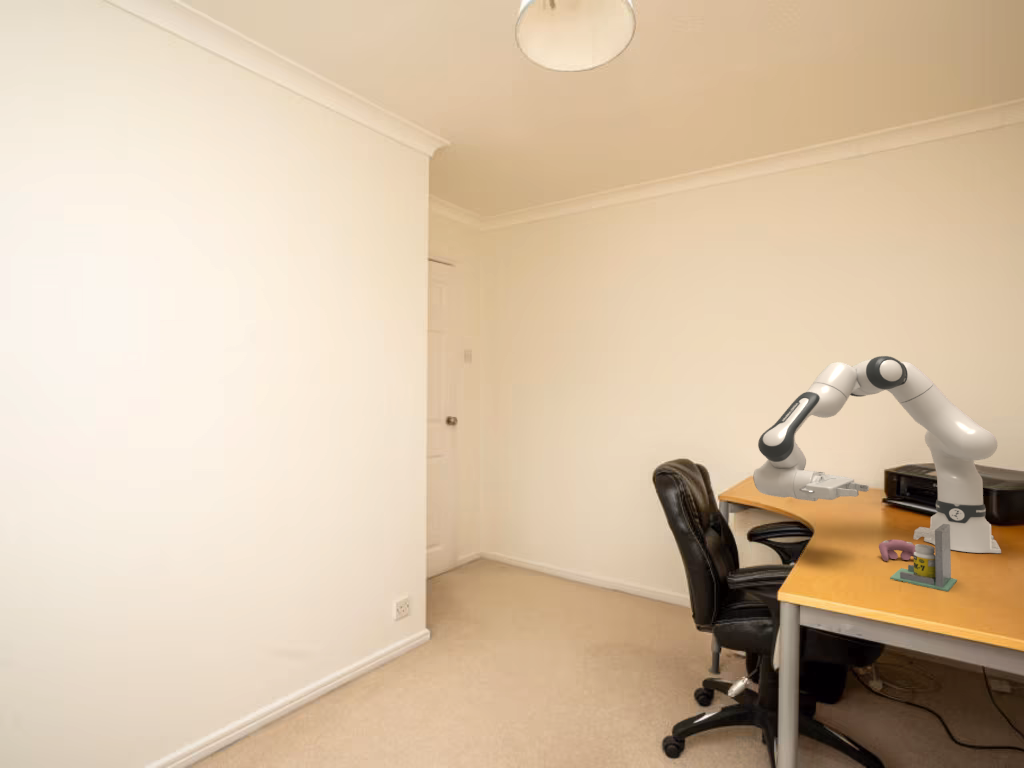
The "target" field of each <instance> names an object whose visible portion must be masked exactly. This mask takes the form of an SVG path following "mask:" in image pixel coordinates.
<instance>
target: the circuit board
mask: <svg viewBox="0 0 1024 768" xmlns="http://www.w3.org/2000/svg"><path fill="white" fill-rule="evenodd" d="M900 572H906V573H911V574H914V572H909V571H908V568H902V567H901V568H899V569H898V570H897V571H896V572H894V573H893V574H892V575H891V576H890V577H889V579H890V580H891V579H894V580H893V581H896V580H898V582H901V581H903V582H902V583H905V582H908V583H907V584H910V583H911V585H916V586H919V585H920V587H925V588H930V589H934V590H938V591H942V592H950V590H951V589H952V588H953V587H954V585H955V584H956V583H957V581H958V579H957V578H952V577H951V579H950V580H949V582H948V583H947V584H946V585H945V586H944V587H943V588H941V587H936V581H935V585H929V584H924V583H919V582H915V581H910V580H905V579H900Z"/></svg>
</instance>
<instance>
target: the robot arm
mask: <svg viewBox="0 0 1024 768" xmlns="http://www.w3.org/2000/svg"><path fill="white" fill-rule="evenodd" d="M883 391H887V392H888V393H890V394H891V395H892V396H893V397H894V399H895V400H896V401H897V402H898V403H899V405H901V407H902V408H903V409H904V411H906V412H907V414H908V415H909V416H910V417H911V418H912V419H913V420H914V421H915V422H916V423H917V424H919V425H920V426H922V427H923V428H924V429H926V432H925V435H924V442H925V444H926V446H927V447H928V448H929V451H930V454H931V458H932V461H933V464H934V468H935V473H936V479H937V480H936V481H937V483H936V485H937V499H936V501H935V507H936V508H935V509H936V513H935V514H933V515H932V516H930V526H929V528H932V529H937V528H938V527H940V526H941V525H942V524H949V525H950V550H952V551H958V552H963V553H966V552H967V553H973V554H975V553H977V554H982V553H983V554H987V553H989V554H1002V549H1001V548H1000V546H999V543H998V542H997V540H995V536H994V535H992V524H991V523H990V522H989V521H987V519H986V511H987V510H986V509H987V508H986V504H984V496H983V495H984V489H983V488H984V487H983V486H984V483H983V482H984V480H983V478H982V476H981V475H980V473H979V472H978V469H977V467H976V465H975V461H981V460H986V459H989V458H991V457H993V455H994V454H995V453H996V452H997V449H998V441H997V438H996V436H995V435H994V434H993V433H992V432H991V431H989V430H987V429H986V428H984V427H982V426H981V425H980V424H978V423H977V422H976V421H975V420H974V419H972V418H971V417H970V416H969V415H967V414H966V412H964V411H963V410H961V409H960V408H959V407H958V406H956V405H955V404H954V403H953V402H951V400H950V399H949V398H948V397H947V396H946V395H945V394H944V393H943V392H942V390H941V389H940V388H938V386H937V385H936V384H935V383H934V382H933V381H932V379H930V377H929V376H927V375H926V374H925V373H924V371H922V370H921V369H919V368H918V367H917V366H915V364H913V363H911V362H909V361H900V360H898V359H897V358H895V357H892V356H888V355H881V356H876V357H873V358H870V359H869V358H868V359H866V360H863V361H859V363H857V364H855V365H851V364H848V363H847V362H846V363H845V362H843V361H842V362H841V361H836V362H832V363H829V364H828V365H827V366H826V367H825V368H824V369H823V370H822V371H821V372H820V373H819V374H818V375H817V377H816V378H815V380H814V381H813V382H812V384H811V385H810V387H809V388H808V390H807V391H805V392H803V393H801V394H800V395H799V396H798V397H797V398H795V399H794V401H792V403H791V404H790V406H788V407H787V409H786V410H785V412H783V414H782V415H781V416H780V417H779V418H778V420H777V421H776V422H775V423H774V424H773V425H772V426H771V427H769V428H767V429H766V430H765V431H764V432H763V433H762V434H761V435H760V437H759V440H758V442H757V443H758V444H757V447H758V450H759V453H761V454H762V456H763V457H765V458H766V459H767V460H766V461H765V462H764V464H763V465H761V466H760V467H758V468H756V469H754V472H753V477H752V479H753V483H754V486H755V488H756V489H757V491H758V492H759V493H761V494H762V495H763V494H764V495H765V496H766V495H767V496H772V497H777V498H793V499H796V500H800V501H801V500H802V501H809V502H810V501H812V502H817V501H818V500H819V499H820V500H826V501H831V500H832V501H833V500H835V499H838V498H841V497H852V498H853V497H858V496H859V492H864V493H866V492H867V493H868V492H869V490H870V489H869V488H870V487H869V485H867V484H863V483H862V484H861V483H858V482H855V479H854V478H852V477H847V476H840V475H834V474H826V473H825V472H824V471H816V470H805V468H806V465H807V458H806V456H805V454H804V452H803V451H802V450H801V448H800V447H799V445H798V444H797V443H796V433H797V432H798V431H799V429H800V428H801V427H802V425H804V423H805V422H806V421H807V420H808V418H809V417H811V416H813V417H817V418H825V419H827V418H831V417H834V416H836V415H838V413H839V412H840V411H841V410H842V409H843V408H844V406H845V404H846V402H847V401H848V399H849V397H851V396H852V397H866V396H871V395H875V394H879V393H882V392H883ZM923 541H924V542H926V543H931V544H932V545H934V546H935V539H934V538H928V537H923Z"/></svg>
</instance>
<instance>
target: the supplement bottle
mask: <svg viewBox="0 0 1024 768" xmlns="http://www.w3.org/2000/svg"><path fill="white" fill-rule="evenodd" d="M914 545H915V551H916V552H914V557H913V566H914V574H916V575H921V576H926V577H931V578H935V581H936V564H935V546H932V545H928V544H919V543H917V544H914Z"/></svg>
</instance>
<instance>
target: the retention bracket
mask: <svg viewBox="0 0 1024 768" xmlns="http://www.w3.org/2000/svg"><path fill="white" fill-rule="evenodd" d="M921 537H923V538H925V537H928V538H934V539H935V545H934V550H935V553H934V555H935V564H936V587H941V588H943V587H944V586H945V585H946V584H947V583H948V582H949V580H950V579H951V578H952V564H951V563H952V561H951V560H952V559H951V558H952V556H951V549H950V525H949V524H942V525H941V526H940V527H938V528H937V529H932V528H930V527H925V526H924V527H923V526H919V527H918V528H916V529H915V530H914V534H913V540H917V541H918V540H919V539H921ZM907 569H908V571H909V572H914V564H913V565H912V564H908V565H907ZM900 579H905V580H910V581H915V582H919V583H924V584H929V585H935V578H931V577H926V576H921V575H916V574H911V573H906V572H900Z"/></svg>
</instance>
